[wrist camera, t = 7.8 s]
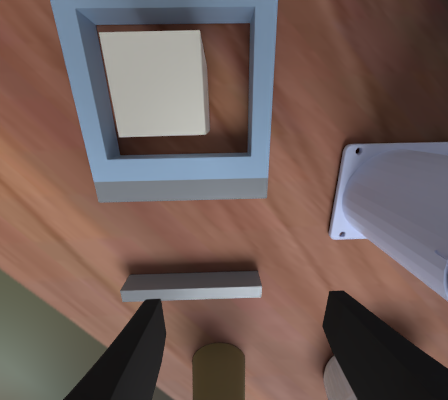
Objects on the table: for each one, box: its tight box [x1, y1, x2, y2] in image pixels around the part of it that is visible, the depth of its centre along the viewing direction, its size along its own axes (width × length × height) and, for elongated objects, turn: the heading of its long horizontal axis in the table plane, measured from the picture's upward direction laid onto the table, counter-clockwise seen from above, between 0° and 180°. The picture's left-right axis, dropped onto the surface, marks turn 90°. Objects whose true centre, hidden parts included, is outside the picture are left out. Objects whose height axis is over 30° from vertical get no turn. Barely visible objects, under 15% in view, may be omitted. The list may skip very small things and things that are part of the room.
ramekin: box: [324, 356, 357, 400], centre depth 23 cm, size 11×11×5 cm
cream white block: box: [99, 30, 210, 137], centre depth 12 cm, size 4×4×6 cm
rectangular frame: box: [50, 0, 278, 302], centre depth 15 cm, size 12×21×2 cm, turn 1°
